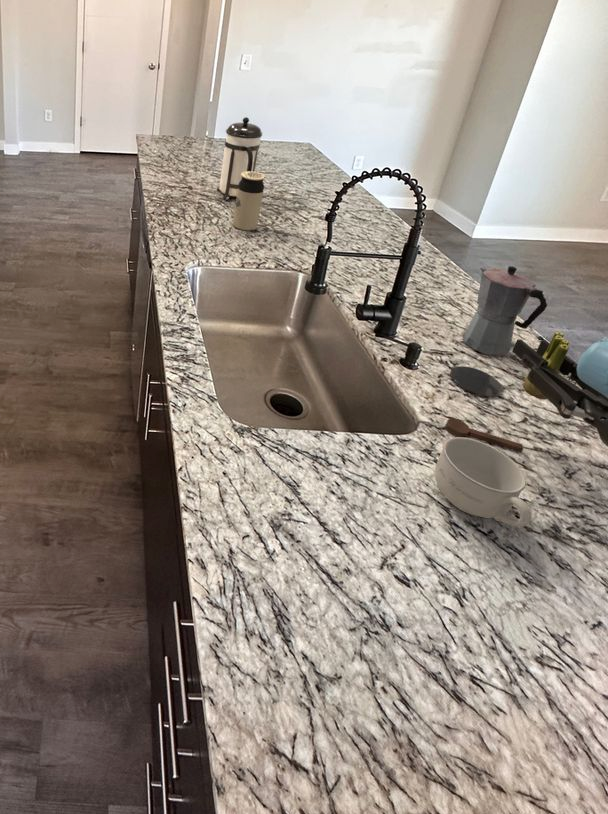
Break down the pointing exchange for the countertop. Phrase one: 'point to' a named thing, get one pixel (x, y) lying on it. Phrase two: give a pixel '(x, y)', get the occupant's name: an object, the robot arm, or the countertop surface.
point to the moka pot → (500, 310)
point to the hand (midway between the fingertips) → (528, 345)
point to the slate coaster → (476, 381)
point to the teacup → (481, 480)
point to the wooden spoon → (479, 435)
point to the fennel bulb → (550, 361)
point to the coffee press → (239, 155)
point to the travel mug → (248, 200)
